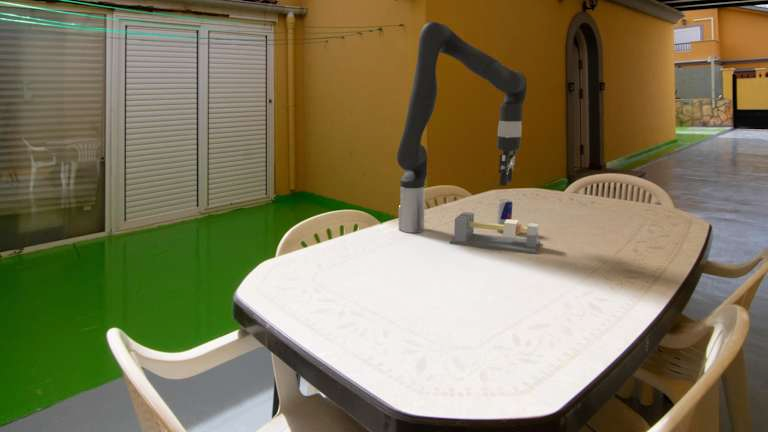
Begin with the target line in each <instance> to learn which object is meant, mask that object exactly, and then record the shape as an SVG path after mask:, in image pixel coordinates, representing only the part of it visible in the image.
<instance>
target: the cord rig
mask: <svg viewBox="0 0 768 432" xmlns="http://www.w3.org/2000/svg"><path fill="white" fill-rule="evenodd" d="M539 225H540V224H539V223H531V222H529V223H528V225H527V227H526V226H522V224H521V223H518V226H517V227H516V232H517V234H518V235H520V234H521V233H523V234H526V238H525V239H526V247H534V248H535V247H536V245H537V242H538V239H539ZM474 228H476V229H485V230H486V229H487V230H492V231H493V230H494V231H497V230H502V231H504V225H499V224H497V223H489V222H487V223H486V222H476V221H475V212H470V211H462V212H461V213H460V214H459V215H458V216H456V217H455V218H454V233H453V234H454V236H453V237H454V241H461V242H466V241H467V240H468V239H469V238H470V237H471V236H472V235H473V233H475V232H474V231H475V230H474Z"/></svg>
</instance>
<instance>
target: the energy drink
mask: <svg viewBox="0 0 768 432" xmlns="http://www.w3.org/2000/svg"><path fill="white" fill-rule="evenodd" d="M496 214H497V216H496V224H499V225H504V222H505V221H506V220H507V219H510V220H513V219H512V217H513V200H512V199H506V198H505V199H498V202H497V211H496ZM496 232H497V233H499V234H503V231H502V230H496Z"/></svg>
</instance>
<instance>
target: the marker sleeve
mask: <svg viewBox="0 0 768 432" xmlns="http://www.w3.org/2000/svg"><path fill="white" fill-rule="evenodd" d="M518 225H519V219H512V220H510V219H507V220H506V221H505V222H504V231H503V233H502V236H503V237H509V238H517V236H518V235H519V234H517V232H516V227H517V226H518Z"/></svg>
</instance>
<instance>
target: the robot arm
mask: <svg viewBox="0 0 768 432" xmlns="http://www.w3.org/2000/svg"><path fill="white" fill-rule="evenodd" d="M417 47H418V49H417V60H416V66H415V71H414V76H413V83H412V87H411V91H410V95H409V96H410V97H409V100H408V107H407V111H406V112H407V113H406V118H405V123H404V128H403V132H402V136H401V139H400V143H399V145H398V149H397V154H396V160H397V163H398V166H399V167H400V168H401V169H403V170H404V173H403V175H402V176H401V178H400V180H399V181H400V205H399V206H398V231H402V232H404V233H410V234H413V233H420V232H423V231H424V230H425V203H426V201H425V194H426V193H425V189H426V188H425V184H426V179H427V175H428V174H427V173H428V171H427V170H428V153H427V150H426V148H425V147H424V145H423V144H421V142H422V136H423V134H424V131H425V130H426V127H427V125H428V124H429V121H430V120H431V117H432V115H433V112H434V110H435V105H436V101H437V97H438V96H437V95H438V82H437V72H436V71H437V70H436V69H437V62H438V58H439V54H440V53H441V54H444V55H447V56H450V57H452V58H453V59H456V60H457V61H459V62H460V63H461V64H462V65H464V66H465V67H466V68H467V69H468V70H469V71H471V72H472V73H473V74H475V75H477V76H478V77H480V78H481V79H483V80H485V81H487V82H489V83H490V84H491V85H493V86H494V87H495V88H496V89H498V90H499V91H500V92H501V93H504V100H503V102H502V104H501V105H500V108H499V119H498V121H499V122H498V127H497V139H496V149H497V150H500V151H502V154H500V155H499V163H498V174H499V175H500V176H499V179H500V180H499V186H500V187H506V186H507V185H508V182H511V181H512V180H513V171H514V169H515V167H516V165H515V163H516V153H517V152H516V151H519V150H520V149H521V145H522V143H521V142H522V140H521V139H522V129H523V128H522V118H523V106H524V102H525V98H526V95H527V86H528V82H527V78H526V76H525V74H523V72H520V71H514V70H512V69H510V68H508V67H507V66H504V65H503V64H502V63H501V61H499V60H498V59H496V58H495V57H493V56H491V55H490V54H487V53H486V52H484V51H482V50H480V49H478V48H476V47H474V46H473V45H471V44H469V43H468V42H466V41H465V40H464V39H462V38H461V37H460V36H458V34H456V33H455V32H454V30H452V29H451V28H449V26H448V25H446V24H443V23H440V22H437V21H429V22H427V23H426V24H424V26H423V27H422V29H421V30H420V34H419V39H418V46H417Z"/></svg>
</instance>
